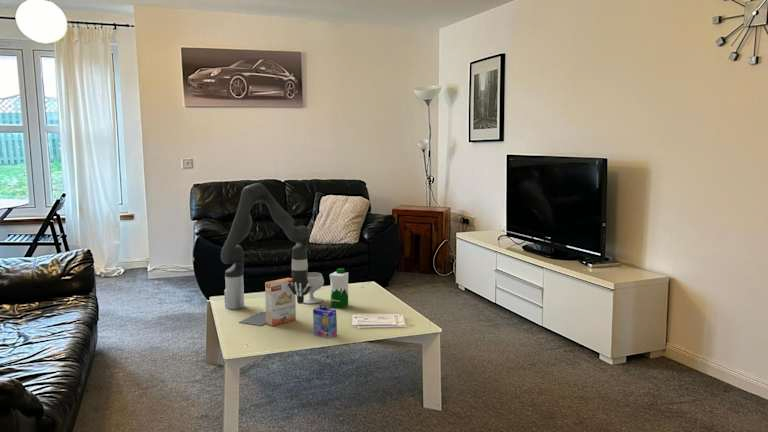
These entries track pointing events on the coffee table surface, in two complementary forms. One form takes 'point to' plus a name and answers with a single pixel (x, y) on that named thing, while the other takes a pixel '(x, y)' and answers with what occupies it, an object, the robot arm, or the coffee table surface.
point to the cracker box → (279, 302)
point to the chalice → (314, 287)
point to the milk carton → (339, 289)
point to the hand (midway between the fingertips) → (300, 303)
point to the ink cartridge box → (325, 321)
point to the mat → (256, 319)
